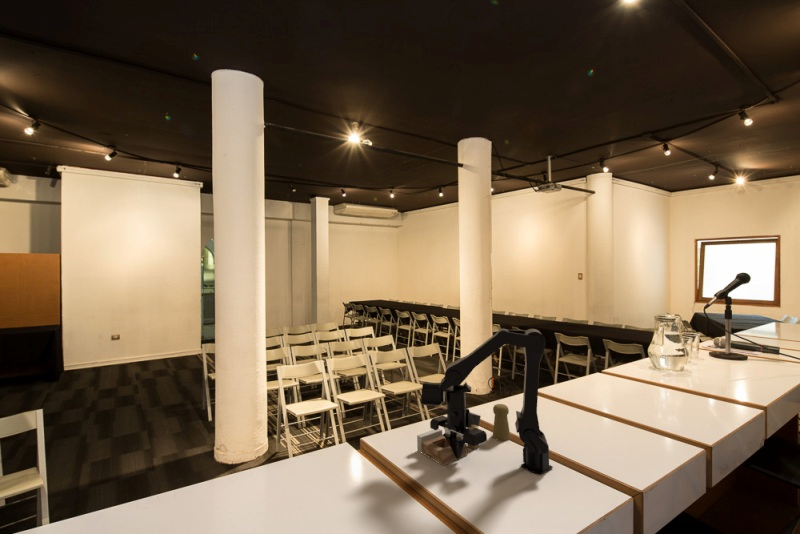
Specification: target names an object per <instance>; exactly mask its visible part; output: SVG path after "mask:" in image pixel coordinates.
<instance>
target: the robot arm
mask: <svg viewBox="0 0 800 534" xmlns="http://www.w3.org/2000/svg"><path fill="white" fill-rule="evenodd" d="M546 343H547V341H546V337H545V336H544V335H543V334H542V333H541V332H540V330H538V329H537V328H536V329H535V328H529V329H526V330H520V329H507V328H499V329H498V330H497V332H496V333H495V334H493V335H492V336H491V337H489V338H488V339H487V340H485V341H484V342H483V343H482V344H480V345H479V346H477V347H476V348H475V349H474V350H472V351H471V352H470V353H469V354H467V355H465V356H463V357H460V358H459V359H456V360H454V361H452V362H450V363H449V364H448V365H447V367H446V369H445V372H444V377H443V378H441V381H440V382H430V381H423V382H422V384H421V385H422V388H421V396H420V398H421V399H420V401H421V405H422V406H439V407H441V405H443V403H445V402H446V408H444V409H443V413H444V414H446V416H445V415H442V414H441V415H440V416H436V417H433V418H431V420H430V422H429V426H430V427H429V428H430V429H431V430H438V428H439V429H440V427H442V428H443V430H444V433H442V435H443V436H444V437H445V438H446V440H447V441H448V443H449V445H450V447H451V449H452V451H453V453H454V455H455V457H456V459H457V460H460V459H461V458H460V457H461V453H462V450H463V447H464V444H469V445H471V446H476V445H478V444H479V445H480V444H483V443H485V442H487V441H488V435H487V433H486V431H485V430H482V429H480V428H478V429H477V428H474V429H471V430H470V429H467V427H471V424H472V425H476V426H478V427H480V422H481V417H482V416H481V415H479V414H476V413H473V412H470V409H469V408H467V402H466V393H471V392H472V387H471V386H470V385H469V384H468V382H466V381H465V380H466V379H467V377H469V375H471V373H472V372H473V370H474V369H475V368H476V367H477V366H479V365H480V364H481V363H482V362H484V361H485V360H486V359H488V358H489V357H490V356H491V355H493V354H494V353H495V352H497V351H498V350H499V349H501V348H502V347H503V346H504V345H510V346H516V347H519V348H523V352H524V358H525V364H524V380H523V398H522V408H521V411H518V410H516V411H515V412H516V413H515V415H516V421H515V423H514V424H515V425H514V426H515V431H516V433H517V434H518V436H519V439H520V441H521V442H522V443H524V444H523V448H522V464H520V467H521V468H523V469H525V470H527V471H529V472H532V473H533V474H536V475H538V476H542V475H544V474H545V473H547V472H549V471H551V470H553V466H552V465H550V450H549V443H548V442H547V441H548V440H547V438H546V436H545V433H544V432H543V431H542V430H541V429H540V423H539V416H538V396H539V395H538V394H539V380H540V379H539V378H540V364H541V361H542V359H543V356H544V351H545V348H546ZM463 382H464V383H463ZM462 383H463V384H462ZM445 398H446V399H445ZM445 400H446V401H445ZM459 458H460V459H459Z"/></svg>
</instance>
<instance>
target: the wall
mask: <svg viewBox="0 0 800 534" xmlns="http://www.w3.org/2000/svg"><path fill="white" fill-rule="evenodd" d="M440 435H443V429H441V428H440V427H439V428H438V430H434V429H431V430H430V431H426V432H423V433H420V434H417V436H416V437H417V439H416V441H417V442H416V443H417V446H416V447H417V452H418V451H420V452H421V442H423V441H426V440H429V439H432V438H434V437H437V436H440ZM420 452H419V453H420Z"/></svg>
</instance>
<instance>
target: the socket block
mask: <svg viewBox="0 0 800 534" xmlns="http://www.w3.org/2000/svg"><path fill="white" fill-rule="evenodd" d="M467 448H468V447H467V444H466V443H465V444H464V447H463V450H462V453H461V457H462V458H465V457H466V456H467V455H468V451H467V450H468V449H467ZM421 452H422V453H423V454H422V453H421V454H422V455H424V454H425V455H427V456H429V457H430V458H429V457H428V458H429V459H431V458H432V459H434V460H435V461H434V460H433V461H434V462H436V461H437V463H438V462H439V463H438V464H440V465H441V464H442V465H441V466H445V465H448V464H450V463H452V462H454V460H455V461H457V460H456V457H455V455H454V453H453V451H452V449H451V447H450V445H449V443H448V441H447V440H446V438H445V437H444V436H443V434H442V435H440V436H437V437H434V438H432V439H429V440H426V441H423V442H421ZM425 455H424V456H425ZM427 456H426V457H427ZM461 457H460V459H462V458H461ZM432 459H431V460H432ZM449 462H450V463H449ZM447 463H448V464H447ZM444 464H445V465H444Z"/></svg>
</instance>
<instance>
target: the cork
mask: <svg viewBox="0 0 800 534" xmlns="http://www.w3.org/2000/svg"><path fill="white" fill-rule="evenodd" d="M492 409H493V410H492V411H493V414H494V420H493V429H492V438H493V439H494V440H496V441H500V442H501V441H502V442H506V441H509V440H511V437H512V436H511V432H510V425H509V420H508V415H509V411H510V410H509V406H507V405H506V404H504V403H497V404H494V405H493V407H492Z"/></svg>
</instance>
